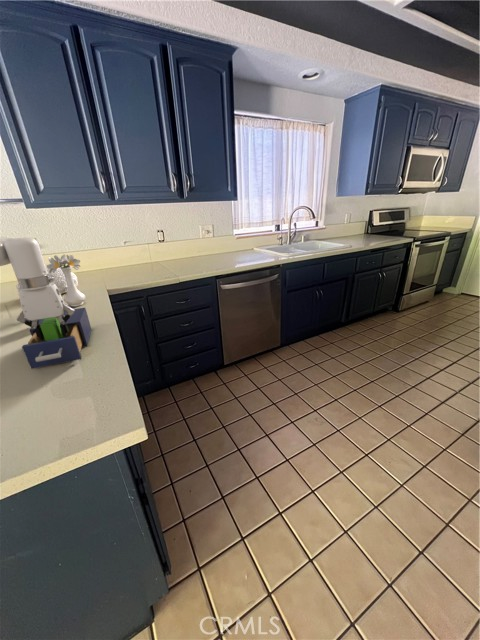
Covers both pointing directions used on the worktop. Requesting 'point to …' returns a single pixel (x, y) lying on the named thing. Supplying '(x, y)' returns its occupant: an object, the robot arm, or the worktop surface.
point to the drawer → (54, 349)
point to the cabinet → (76, 318)
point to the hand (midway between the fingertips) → (54, 335)
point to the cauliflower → (61, 280)
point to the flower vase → (68, 278)
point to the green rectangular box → (51, 329)
